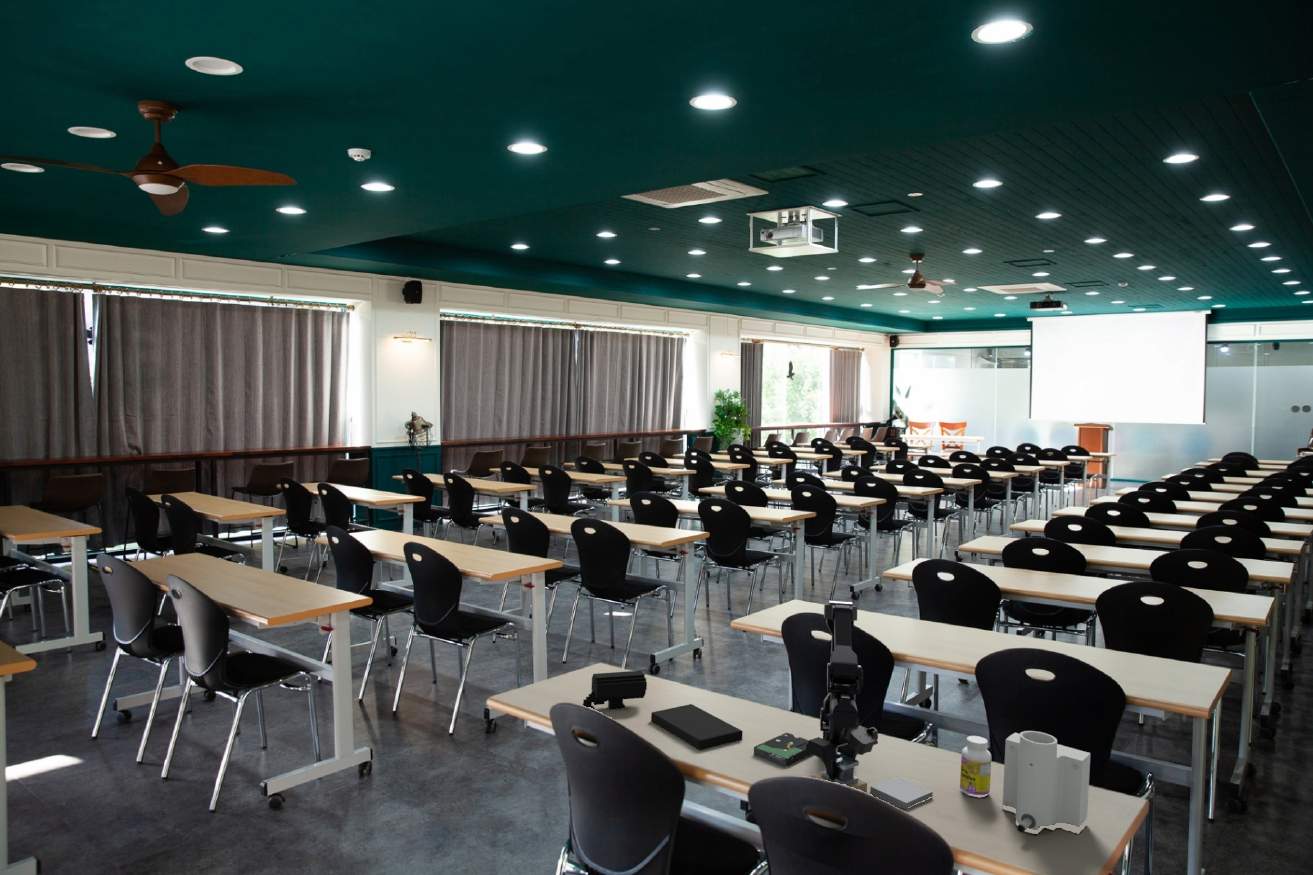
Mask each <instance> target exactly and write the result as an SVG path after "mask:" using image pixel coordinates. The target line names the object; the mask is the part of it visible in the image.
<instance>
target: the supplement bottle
mask: <svg viewBox="0 0 1313 875" xmlns="http://www.w3.org/2000/svg"><path fill="white" fill-rule="evenodd" d="M988 743H989V742H988V739H987V738H985V737H982V736H978V735H969V736H967V737H966V746H965V747H963V748H962V749H961V759H960V762H961V763H960V778H959V789H961V790H962V791H963V792H965V793H967V794H973V795H985V794H988V793H989V792H991V791H990V790H991V776H992V772H991V770H992V754H991V752H990V751H989V750H988V749H987V748H988V746H989V744H988ZM961 790H960V791H961ZM962 791H961V792H962ZM963 792H962V793H963ZM989 794H990V793H989Z"/></svg>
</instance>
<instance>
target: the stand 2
mask: <svg viewBox="0 0 1313 875" xmlns="http://www.w3.org/2000/svg"><path fill="white" fill-rule="evenodd" d="M869 789H870V790H869V791H870V792H869V793H870V794H872V795H875V796H877V797H879V798H881V799H883V800H885V801H887V802H889V803H892V804H893V805H896V806H898V807H900V808H902V809H904V810H908V809H909V808H908V807H910V806H912V805H914V804H916V803H918V802H921V801H923V800H926V799H928V798H929V797H932V796H933V793H934V792H933V791H932V790H930V789H927V788H925V787H923V786H921V785H918V784H916V783H914V782H911V781H909V780H907V779H905V778H902V777H900V776H898V775H896V776H893V777H892V778H888V779H885V780H883V781H880V782H878V783H876V784H874V785H870V788H869ZM932 798H933V797H932Z"/></svg>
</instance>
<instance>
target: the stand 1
mask: <svg viewBox="0 0 1313 875" xmlns="http://www.w3.org/2000/svg"><path fill="white" fill-rule="evenodd" d="M812 777H814V778H818V779H823V780H828V779H826V778H824V777H822V776H821V772H818V773H816V774H812V775H811V778H812ZM828 781H830V780H828ZM831 782H832V781H831ZM849 787H854V788H856V789H860V790H862V791H866V792H868V782H867V781H865V780H863V779H860V778H858V782H857V783H854V784H851V785H849Z"/></svg>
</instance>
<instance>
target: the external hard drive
mask: <svg viewBox="0 0 1313 875" xmlns="http://www.w3.org/2000/svg"><path fill="white" fill-rule="evenodd" d="M650 715H651V716H650V722H651V723H653V724H654V725H656V726H658V727H659V728H661V729H663V730H664V731H666V732H668V733H670V734H671V735H673V736H675V737H676V738H678V739H680V740H681V741H683V742H685V743H686V744H688V745H689V746H691V747H693V748H695V749H696V750H698V751H704V750H708V749H712V748H716V747H720V746H724V745H728V744H732V743H736V742H740V741H742V740H743V733H744V731H743V730H742V729H740V728H737V727H736V726H734V725H732V724H730V723H728V722H726V721H724V720H723V719H721V718H718V717H717V716H716V715H713V714H711V713H709V712H707V711H706V710H703V709H702V708H700V707H698V706H696V705H695V704H692V703H689V704H685V705H681V706H680V705H679V706H675V707H671V708H666V709H661V710H656V711H651V714H650Z"/></svg>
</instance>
